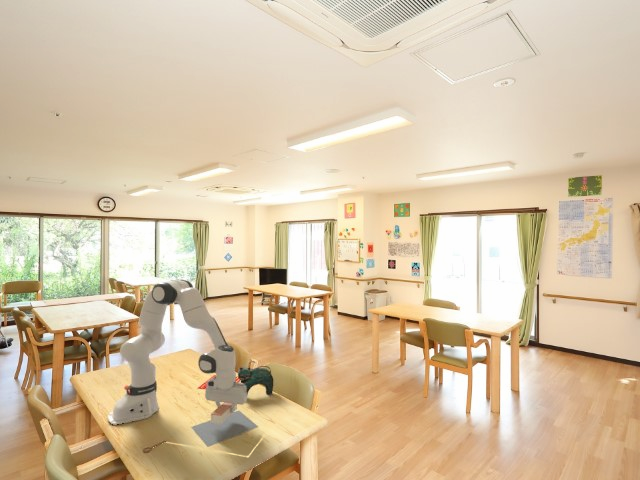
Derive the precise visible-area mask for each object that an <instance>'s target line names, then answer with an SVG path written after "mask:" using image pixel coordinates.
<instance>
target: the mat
mask: <svg viewBox="0 0 640 480" xmlns="http://www.w3.org/2000/svg"><path fill="white" fill-rule="evenodd" d="M190 428H191V429H192V430H193V432H194V433H195V434H196V435H197V436H198V437H199V439H200V440H201V441H202V442H203V443H204V444H205V446H206V447H207V448H208V447H211V446H215V445H216V444H218V443H221V442H224V441H227V440H229V439H232V438H235V437H236V436H238V435H242V434H244V433H247V432H249V431H252V430H254V429H255V430H256V428H259V425H257V423H255V422H253V421H252V420H251V419H250V418H249V417H248V416H246V415H245V414H244V413H243V412H242V411H241V410H235V411H234V412H233V413H232V414H231V415H230V416H229V417H228V418H227V419H226V420H225V421H224V422H223V423H222V424H217V423H211V419H210V420H208V421H205V422H201V423H199V424H195V425H193V426H192V425H191V426H190Z"/></svg>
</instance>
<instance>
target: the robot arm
mask: <svg viewBox="0 0 640 480" xmlns="http://www.w3.org/2000/svg"><path fill="white" fill-rule="evenodd" d="M172 304H178V306H179V307H180V309H181V314H182V317H183V319H184V322H185V323H186V325H187V326H188V327H190V328H193V329H198V330H202V331H204V332H206V333H207V335H208V336H209V338H210V340H211V343H212V344H213V347H214V349H211V350H208V351H206V352H205V353H202V354H201V355H200V356H199V358H198V368H199V369H200V371H201V372H202V373H203V374H207V375H208V374H209V375H210V374H215V375H216V376H214V377H213V378H211V377H210V378H211V379H210V378H209V379H210V380H208V379H207V380H208V381H207V380H206V381H207V382H206V381H205V382H206V385H207V387H206V389H205V394H204V395H205V396H204V399H205V400H206V401H212V402H215V405H216V408H218V407H219V406H220V405H222V404H221V403H224V402H225V403H232V406H233V407H232V408H230V412H232V413H233V412H236V410H235V407H236V405H237V406H238V405H244V404H245V403H246V402H247V401H248V395H247V392H246V390H247V387H246V385H245V384H244V383H241V382H237V381H236V379H237V378H236V377H237V373H236V363H237V359H236V358H237V357H236V351H235V348H234V347H233V346H232V345H229V344H228V342H227V341H226V338H225V337H224V335H223V331H222V330H221V328H220V326H219V324H218V322H217V320H216V319H215V318H214V316H212V315H211V314H210V312H209V311H208V309H207V306H206V303H205V300H204V299H203V296H202V295H201V292H200V291H199V289H198V288H196V287H194V286H193V284H192V282H190V281H189V280H184V279H181V280H178V279H175V280H170V281H162V282H159V283H157V284H155V285H154V286H153V287H152V289H150V290H149V291H148V293H147V294H146V297H145V298H144V302H143V304H142V307H141V310H140V315H139V318H138V325H139V326H140V327H141V331H140V334H139V335H137V336H134V337H131V338H129V339H128V340H126V341H125V342H124V343H122V345H121V346H120V348H119V354H120V357H121V358H122V359H123V361H125V362H127V364H128V366H129V369H130V380H131V381H130V382H131V384H130V385H128V384H125V385H124V387H123V388H124V389H125V391H126V393H125V394H124V395H123V396H122V397H121V398H120V399H118V400H117V401H116V402H115V404H114V406H113V411H111V412H110V413H109V414H108V415H107V421H109V422H110V423H111V424H110V423H109V422H108V423H109V424H110V425H112V424H113V426H118V425H117V424H119V425H123V424H122V423H124V424H126V423H127V424H128V423H132V421H133V422H137V421H142V420H145V419H150V418H151V417H152V415H153V414H155V413H156V412H157V411H159V409H160V405H159V402H158V398H157V390H158V389H157V387H158V386H157V384H158V383H157V379H156V377H157V376H156V375H157V374H156V365H155V364H154V363H152V362H151V358H150V355H151V354H153V353H156V352H157V351H158V350H159V349H160V348H162V347H163V345H164V344H165V341H166V338H165V334H164V333H163V331H162V326H163V321H164V317H165V315H166V311H167V308H168V305H172Z"/></svg>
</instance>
